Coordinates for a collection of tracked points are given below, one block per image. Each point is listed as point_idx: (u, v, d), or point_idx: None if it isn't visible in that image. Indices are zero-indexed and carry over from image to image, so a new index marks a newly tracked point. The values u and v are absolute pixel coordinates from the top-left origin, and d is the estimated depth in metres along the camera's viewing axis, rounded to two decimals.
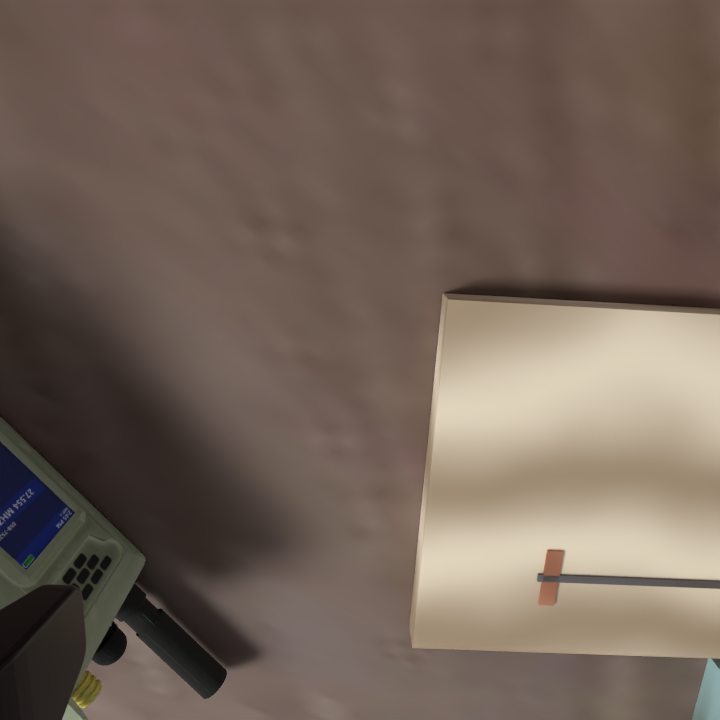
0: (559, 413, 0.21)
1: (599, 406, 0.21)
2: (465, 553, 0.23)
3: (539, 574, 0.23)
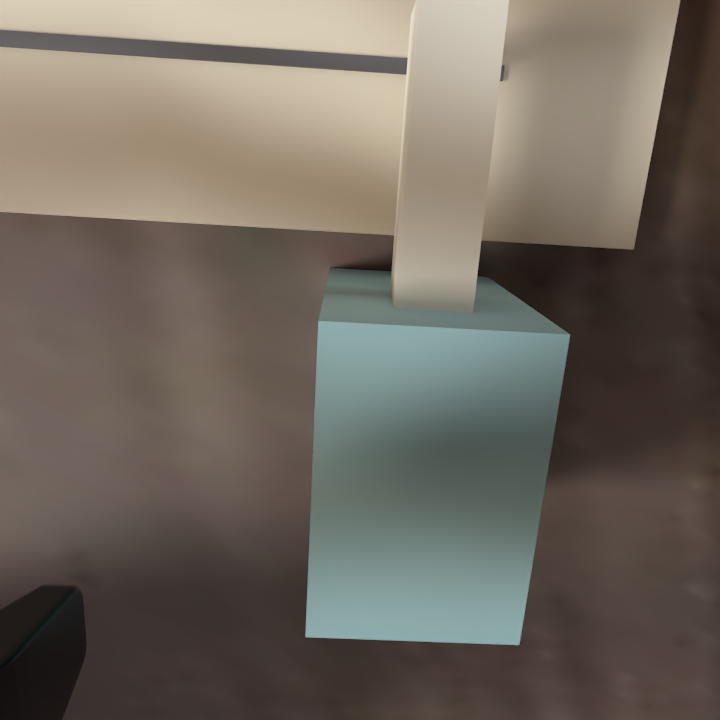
0: None
1: None
2: None
3: None
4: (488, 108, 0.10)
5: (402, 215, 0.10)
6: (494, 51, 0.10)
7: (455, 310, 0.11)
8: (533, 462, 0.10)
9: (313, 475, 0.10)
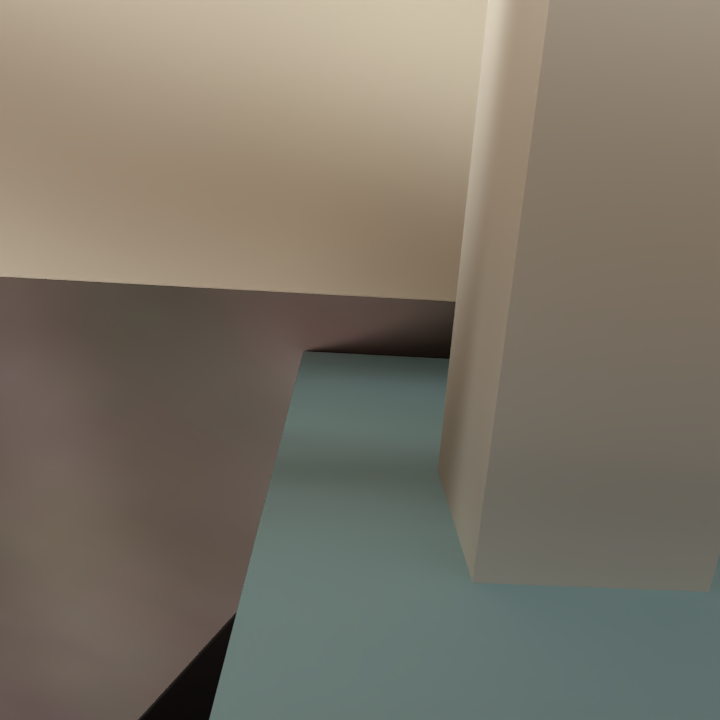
0: None
1: None
2: None
3: None
4: None
5: (507, 306, 0.03)
6: None
7: (656, 585, 0.04)
8: None
9: None
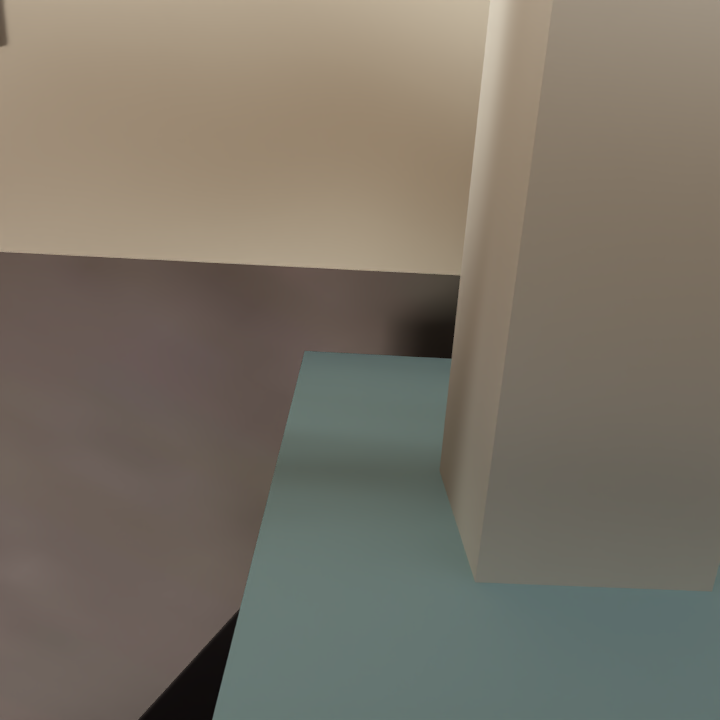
0: None
1: None
2: None
3: None
4: None
5: (510, 305, 0.03)
6: None
7: (658, 584, 0.04)
8: None
9: None
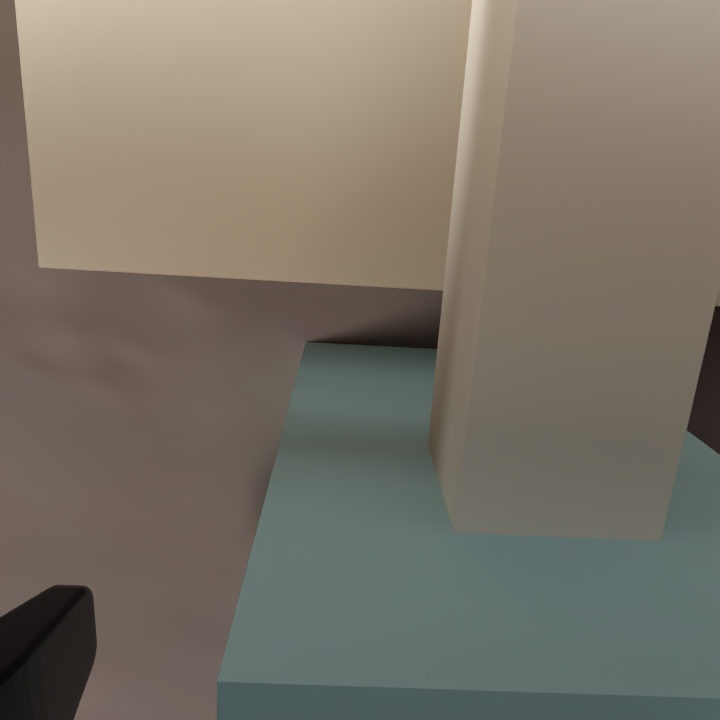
0: None
1: None
2: None
3: None
4: None
5: (482, 290, 0.04)
6: None
7: (614, 534, 0.04)
8: None
9: None
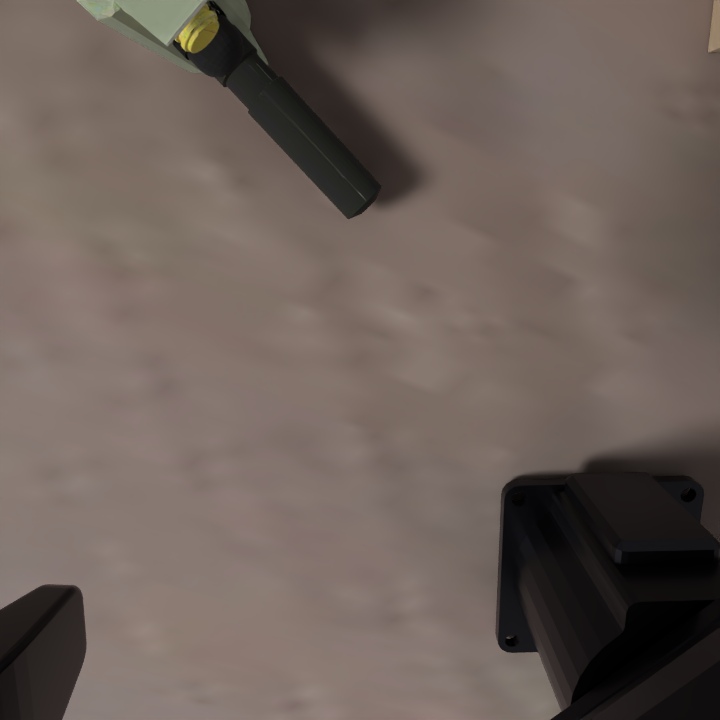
0: None
1: None
2: None
3: None
4: None
5: None
6: None
7: None
8: None
9: None
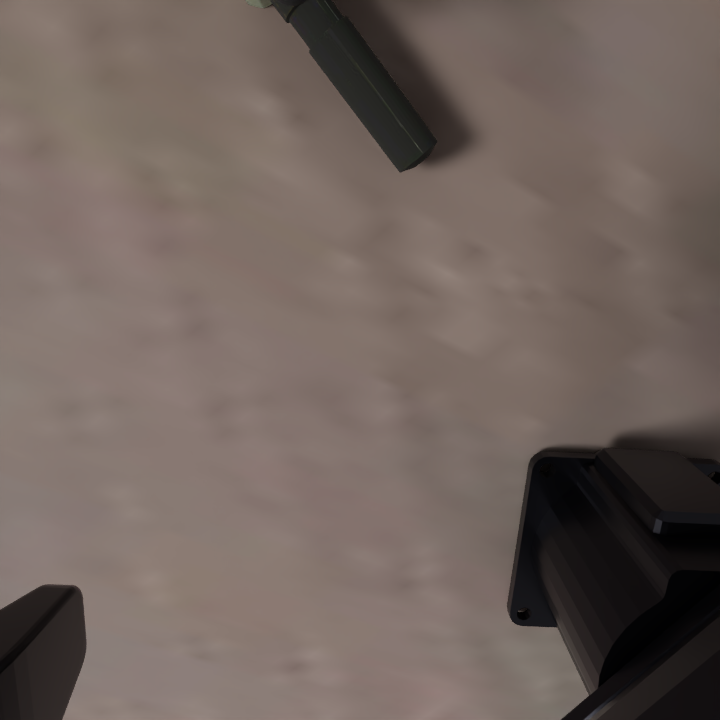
0: None
1: None
2: None
3: None
4: None
5: None
6: None
7: None
8: None
9: None
